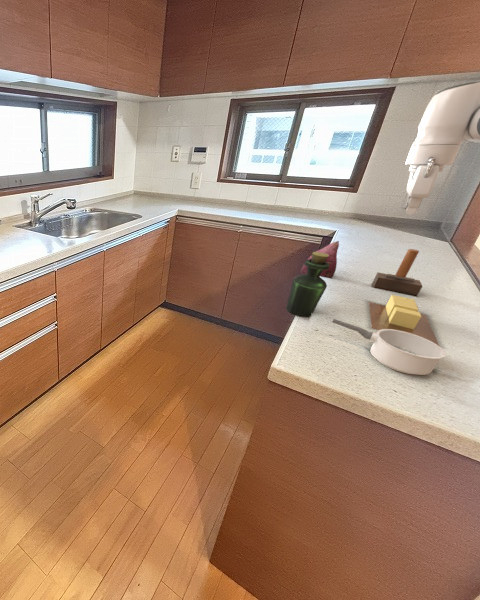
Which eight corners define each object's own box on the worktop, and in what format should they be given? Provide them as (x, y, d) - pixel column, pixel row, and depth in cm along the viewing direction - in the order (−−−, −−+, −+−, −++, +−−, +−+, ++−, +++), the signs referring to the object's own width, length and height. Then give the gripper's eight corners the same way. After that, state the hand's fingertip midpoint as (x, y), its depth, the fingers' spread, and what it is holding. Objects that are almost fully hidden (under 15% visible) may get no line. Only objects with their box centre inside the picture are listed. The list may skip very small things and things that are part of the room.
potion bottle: (315, 321, 91) (341, 261, 83) (282, 314, 94) (303, 255, 86) (313, 310, 97) (336, 252, 89) (282, 303, 101) (302, 247, 92)
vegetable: (324, 280, 127) (349, 244, 121) (331, 286, 118) (359, 248, 112) (297, 268, 130) (320, 233, 123) (301, 274, 121) (326, 236, 114)
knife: (405, 293, 109) (427, 251, 103) (406, 296, 108) (429, 253, 101) (378, 288, 113) (398, 246, 106) (379, 290, 111) (399, 248, 104)
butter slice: (412, 325, 88) (419, 312, 86) (413, 329, 85) (421, 316, 84) (388, 319, 90) (395, 306, 88) (389, 323, 88) (396, 310, 86)
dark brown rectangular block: (412, 293, 110) (419, 280, 107) (414, 300, 105) (422, 286, 103) (371, 285, 115) (377, 272, 113) (371, 290, 111) (378, 277, 109)
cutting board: (423, 319, 94) (425, 314, 93) (436, 351, 79) (439, 346, 79) (366, 305, 101) (368, 301, 100) (369, 332, 86) (371, 328, 86)
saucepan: (328, 329, 87) (336, 311, 85) (431, 362, 75) (444, 342, 73) (320, 347, 80) (328, 327, 77) (432, 386, 68) (447, 365, 65)
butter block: (407, 311, 94) (414, 299, 93) (411, 322, 89) (418, 309, 87) (385, 306, 97) (391, 294, 95) (387, 316, 91) (394, 304, 90)
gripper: (453, 157, 75) (428, 217, 81) (443, 157, 89) (422, 209, 95) (415, 157, 79) (394, 215, 85) (411, 157, 93) (393, 207, 99)
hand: (409, 212), depth 90 cm, fingers open, 8 cm apart
